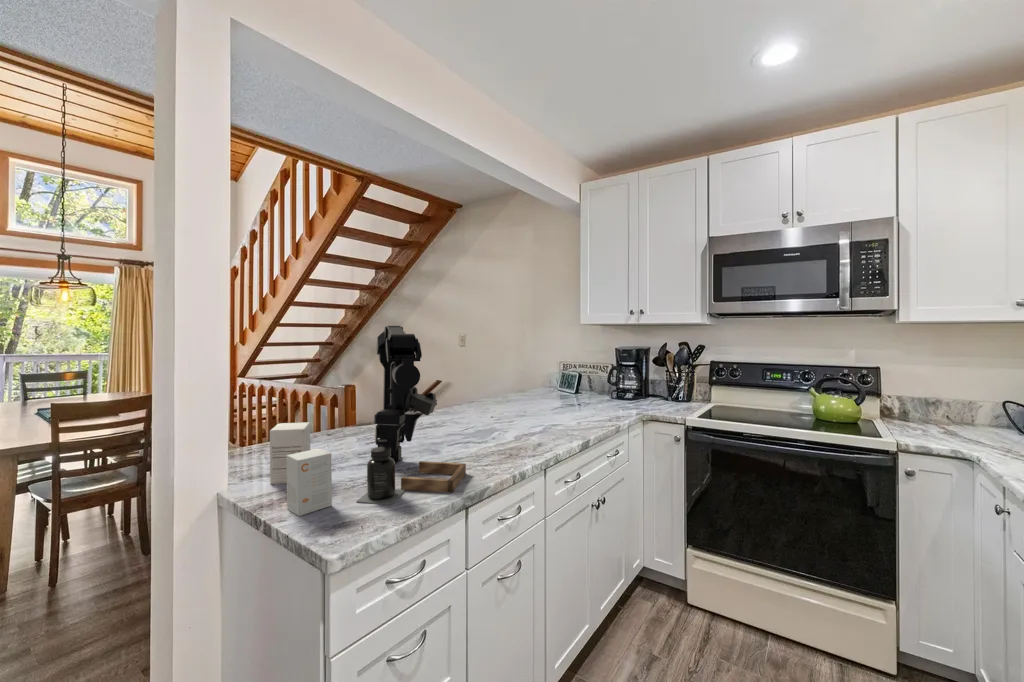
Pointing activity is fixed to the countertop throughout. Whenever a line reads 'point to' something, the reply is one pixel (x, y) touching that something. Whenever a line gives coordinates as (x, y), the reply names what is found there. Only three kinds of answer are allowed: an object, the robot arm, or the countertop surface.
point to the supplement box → (286, 447)
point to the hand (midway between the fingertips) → (401, 445)
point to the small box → (309, 481)
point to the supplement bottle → (381, 474)
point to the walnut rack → (435, 484)
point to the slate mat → (386, 501)
